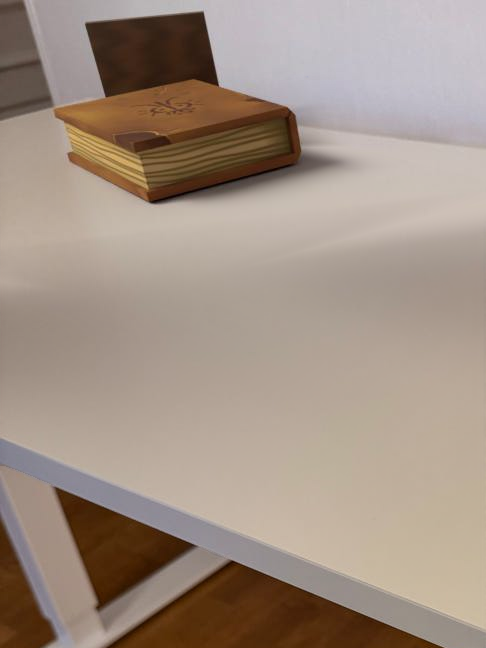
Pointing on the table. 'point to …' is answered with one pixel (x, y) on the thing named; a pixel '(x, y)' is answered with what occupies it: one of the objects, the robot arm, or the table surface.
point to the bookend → (151, 51)
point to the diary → (179, 137)
